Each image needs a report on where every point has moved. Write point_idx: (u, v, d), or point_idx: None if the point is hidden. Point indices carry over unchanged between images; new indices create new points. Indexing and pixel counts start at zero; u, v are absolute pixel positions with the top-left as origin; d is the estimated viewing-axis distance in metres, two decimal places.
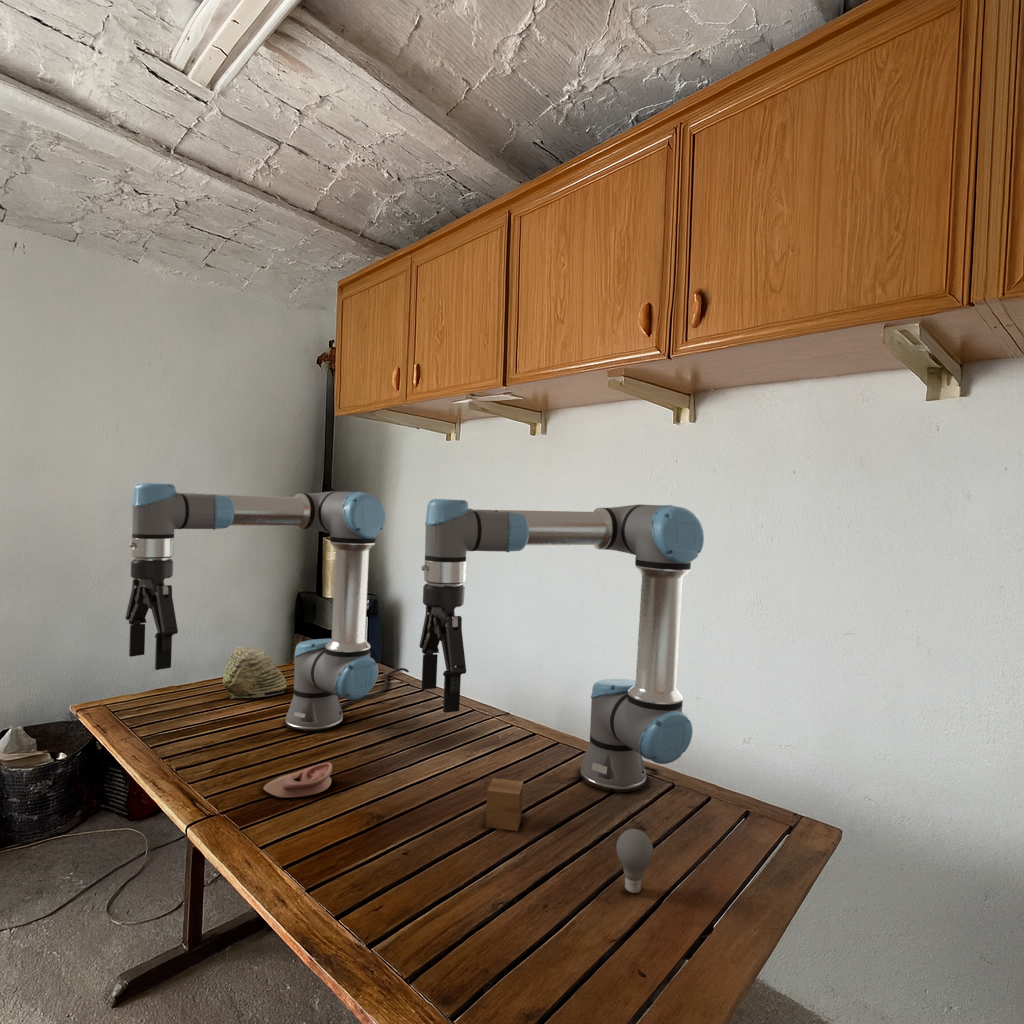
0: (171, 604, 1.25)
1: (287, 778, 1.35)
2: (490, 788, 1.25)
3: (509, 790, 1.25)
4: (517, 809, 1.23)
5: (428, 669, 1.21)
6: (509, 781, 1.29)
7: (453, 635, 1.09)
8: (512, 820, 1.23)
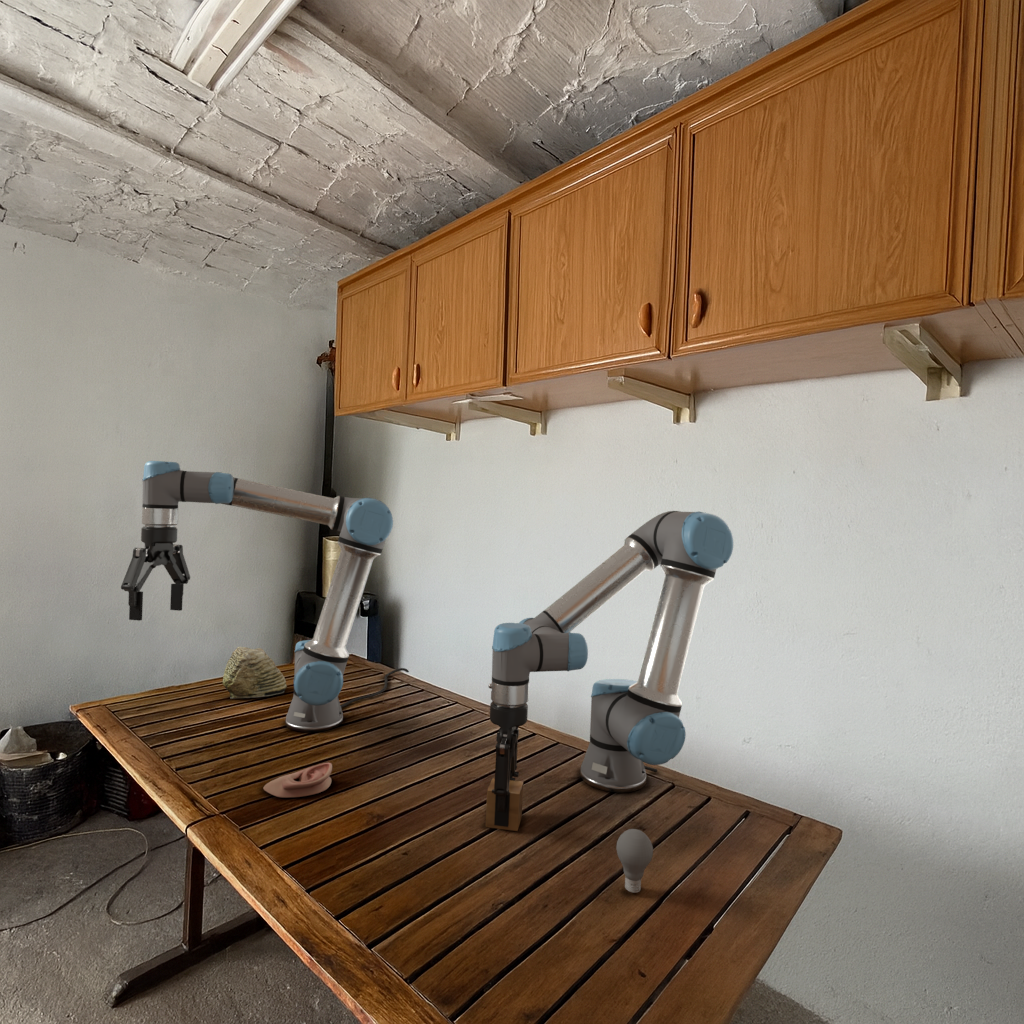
0: (137, 564, 1.43)
1: (287, 778, 1.35)
2: (490, 788, 1.25)
3: (509, 790, 1.25)
4: (517, 809, 1.23)
5: None
6: None
7: (500, 761, 1.20)
8: (512, 820, 1.23)
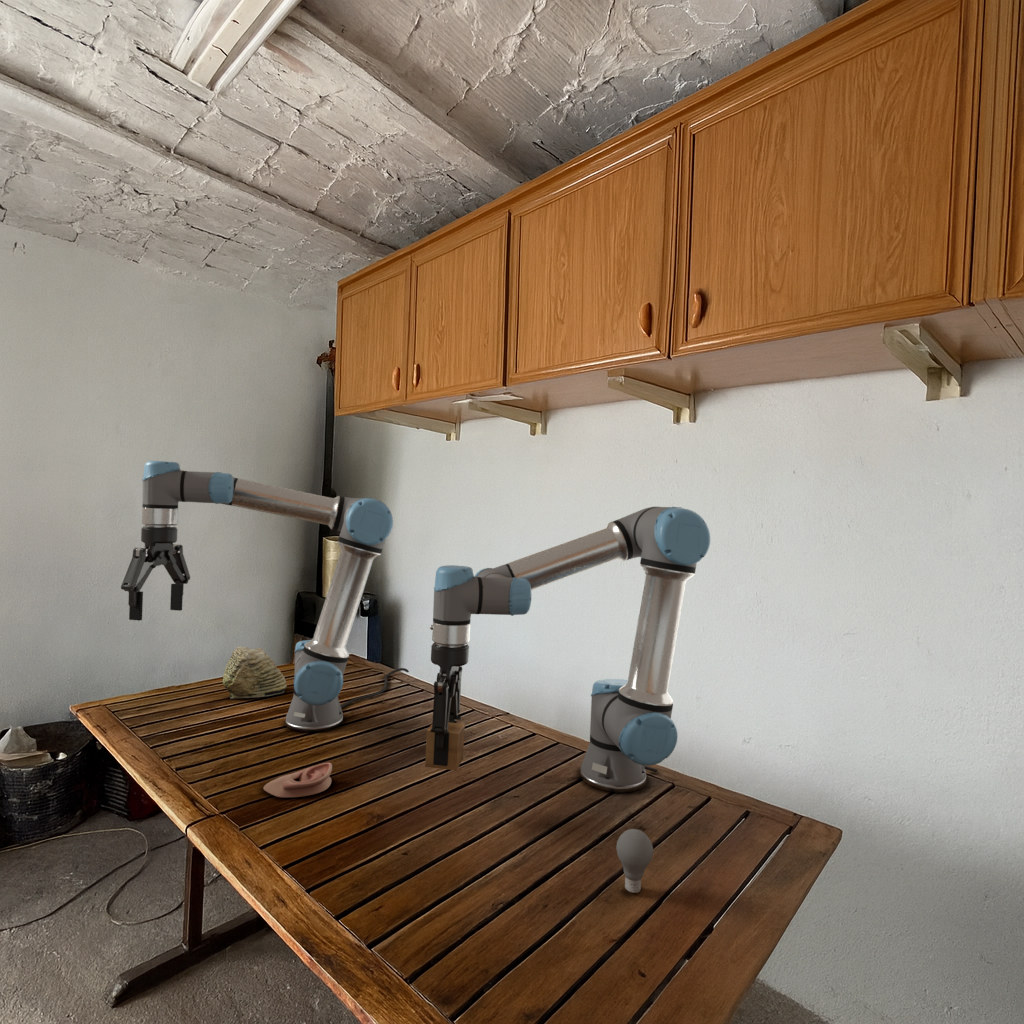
0: (137, 564, 1.43)
1: (287, 778, 1.35)
2: (430, 728, 1.25)
3: (448, 730, 1.25)
4: (456, 749, 1.24)
5: None
6: (451, 723, 1.29)
7: (438, 699, 1.21)
8: (451, 760, 1.24)
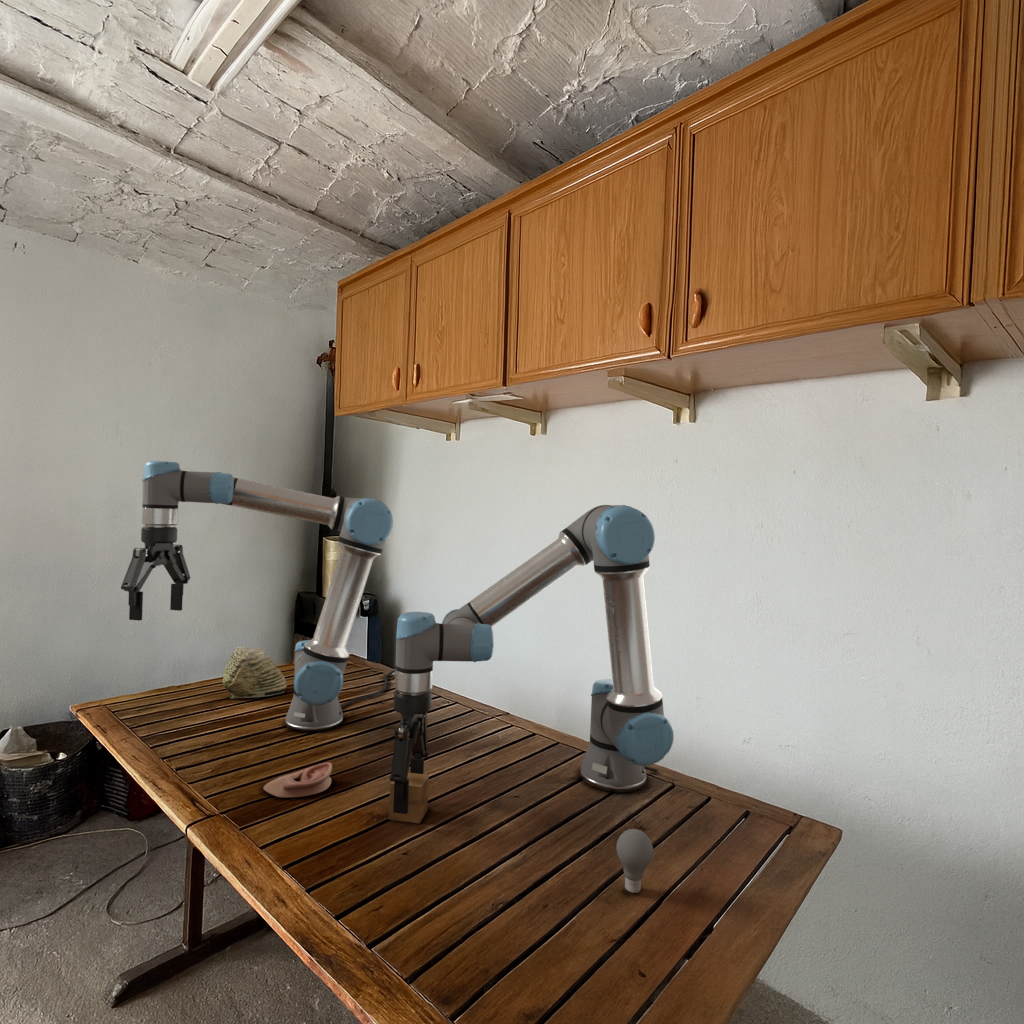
0: (137, 564, 1.43)
1: (287, 778, 1.35)
2: (393, 781, 1.26)
3: (411, 783, 1.26)
4: (419, 802, 1.25)
5: (414, 772, 1.32)
6: (415, 774, 1.30)
7: (398, 746, 1.21)
8: (414, 813, 1.25)
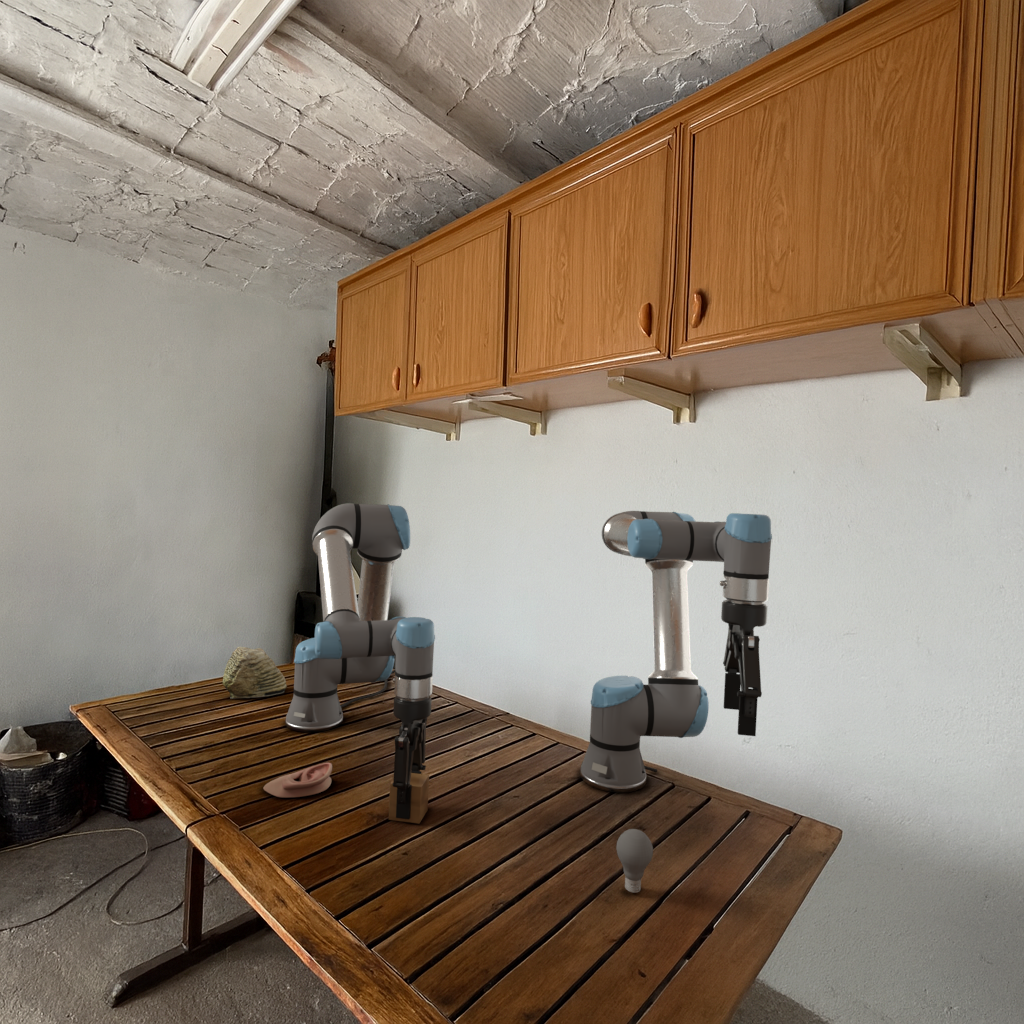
0: (404, 758, 1.21)
1: (287, 778, 1.35)
2: None
3: (411, 783, 1.26)
4: (419, 802, 1.25)
5: (730, 688, 1.18)
6: (415, 774, 1.30)
7: (749, 655, 1.04)
8: (414, 813, 1.25)
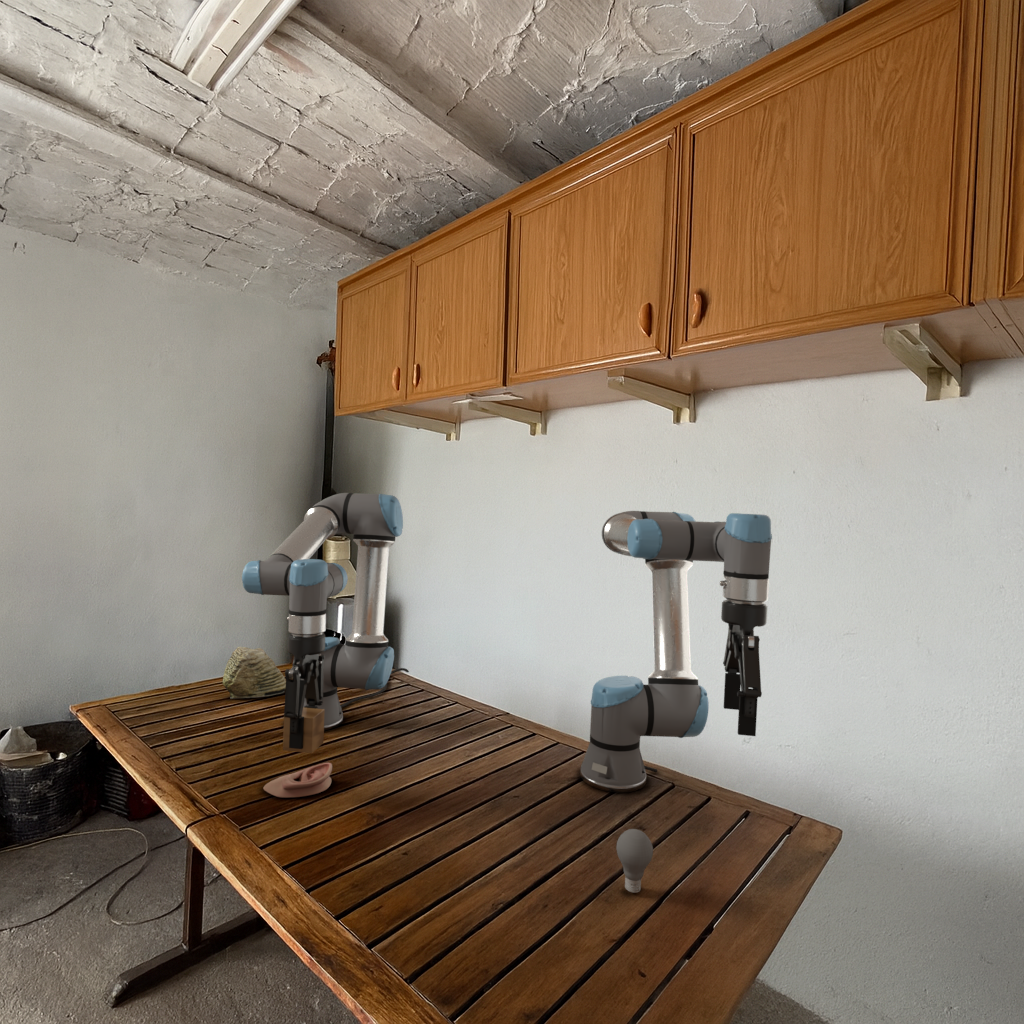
0: (295, 689, 1.27)
1: (287, 778, 1.35)
2: None
3: (305, 715, 1.32)
4: (311, 732, 1.31)
5: (730, 688, 1.18)
6: (311, 708, 1.36)
7: (749, 655, 1.04)
8: (306, 743, 1.31)
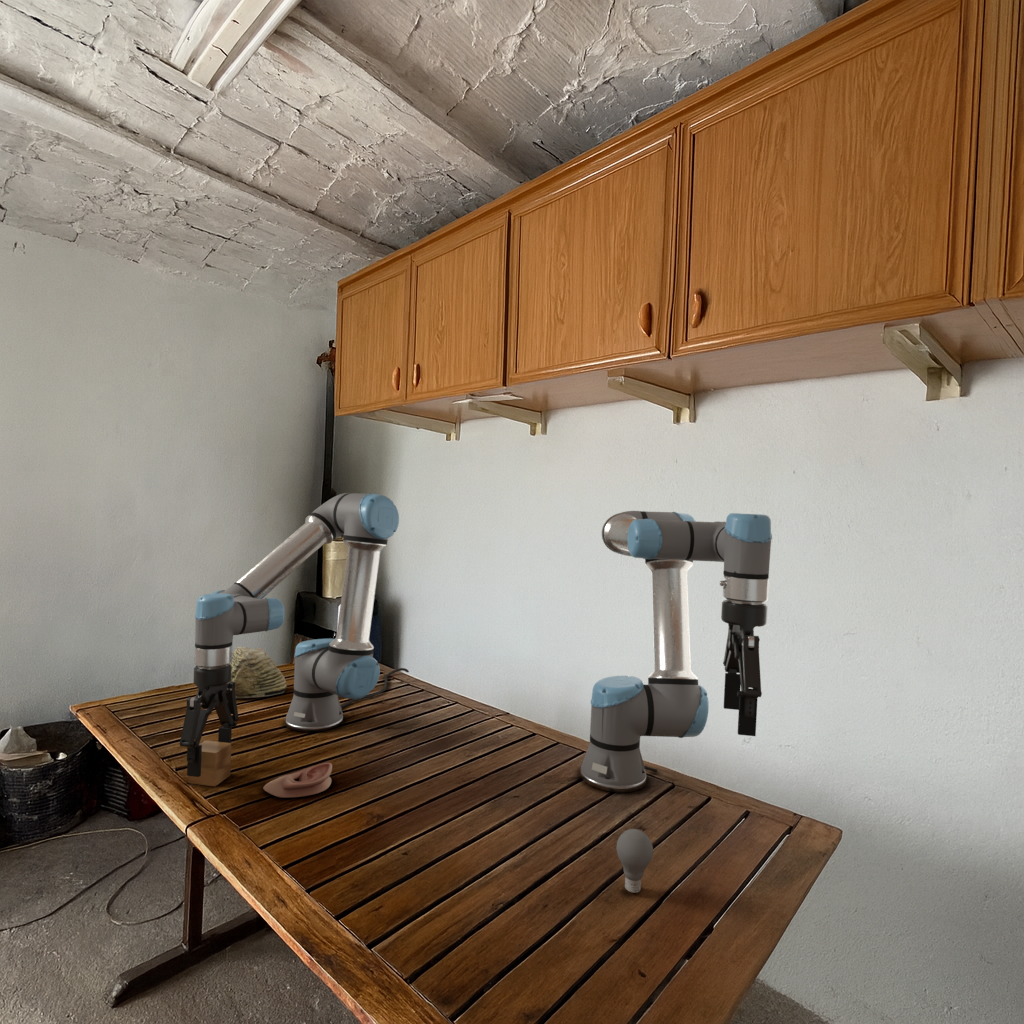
0: (193, 717, 1.32)
1: (287, 778, 1.35)
2: None
3: (209, 750, 1.37)
4: (214, 766, 1.36)
5: (730, 688, 1.18)
6: (219, 742, 1.42)
7: (749, 655, 1.04)
8: (210, 776, 1.36)
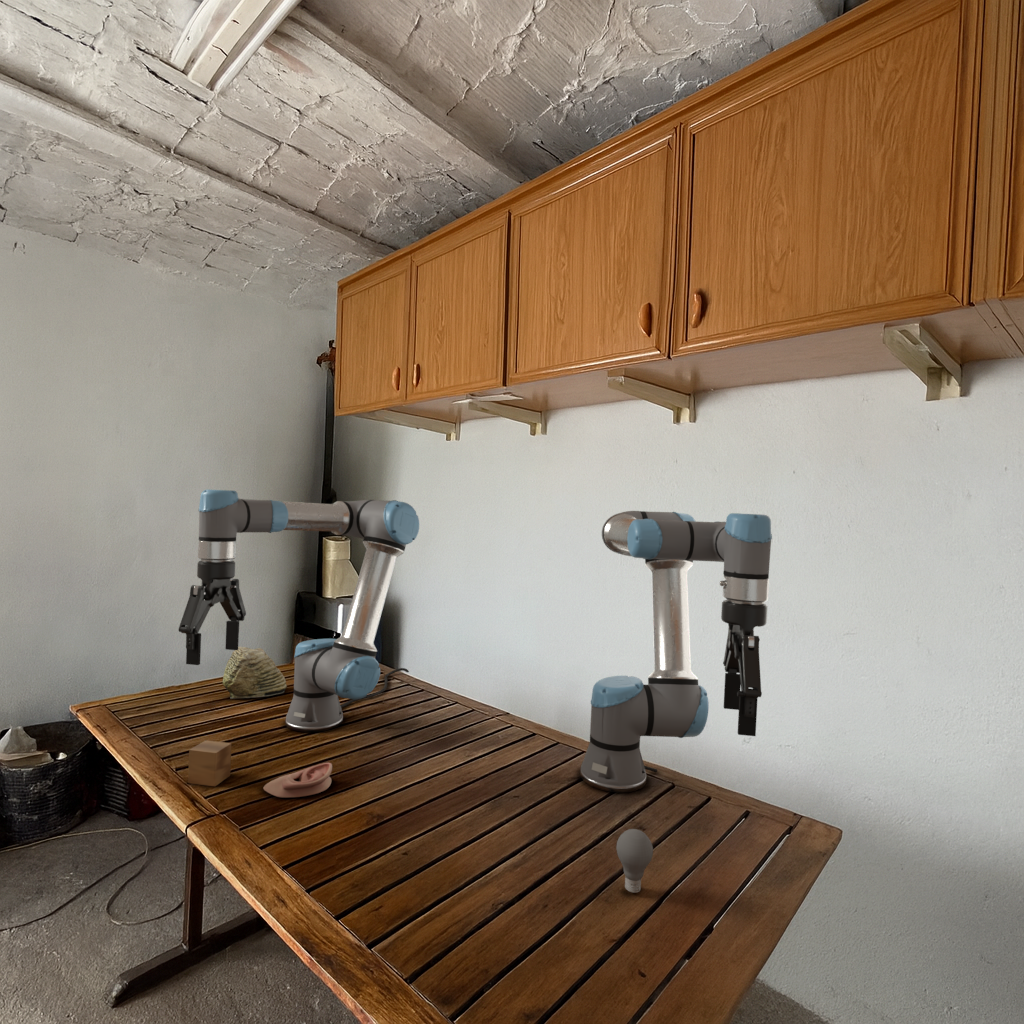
0: (196, 604, 1.31)
1: (287, 778, 1.35)
2: (193, 748, 1.38)
3: (209, 750, 1.37)
4: (214, 766, 1.36)
5: (730, 688, 1.18)
6: (219, 742, 1.42)
7: (749, 655, 1.04)
8: (210, 776, 1.36)
